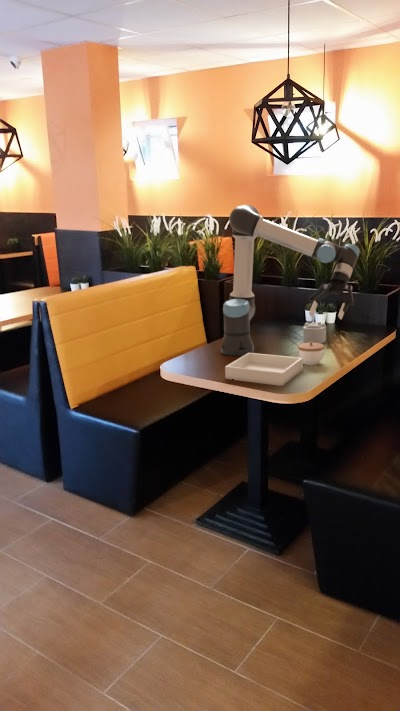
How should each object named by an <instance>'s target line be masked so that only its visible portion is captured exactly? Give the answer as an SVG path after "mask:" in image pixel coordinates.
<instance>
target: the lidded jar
mask: <svg viewBox="0 0 400 711" xmlns="http://www.w3.org/2000/svg"><path fill="white" fill-rule="evenodd" d="M297 349H298V358H303V365H305V364H306V366H317V365H319V363H320V362H321V361H322V360H323V358H324V353H325V345H324V343H322V344H320V343H312V342H310V343H304V342H302V343H299V344H298V345H297Z"/></svg>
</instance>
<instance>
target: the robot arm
mask: <svg viewBox="0 0 400 711" xmlns="http://www.w3.org/2000/svg"><path fill="white" fill-rule="evenodd" d="M228 221H229V225H230V227H231V228H232V230H231V231H232V232H231V236H233V238H234V239H235V241H234V260H233V261H234V262H233V265H234V268H233V287H232V288H233V290H232V292H231V293H229V300H226V301H225V302H224V303H223V305H222V306H223V307H222V314H223V332H224V333H223V340H222V343H221V346H220V353H221V354H222V355H224V356H233V357H239V356H240V357H242V356H244V355H245V354H247V353H255V346H254V343H253V340H252V338H251V337H252V336H251V334H250V333H251V330H250V329H251V328H250V327H251V326H250V322H251V320H252V318H253V317H254V315H255V313H256V304H255V294H254V292H253V291H252V288H253V287H252V286H253V272H254V271H253V268H254V266H253V265H254V252H255V251H254V247H255V239H256V238H257V237H258V238H262V239H265V240H266V241H270V242H272V243H275V244H278V245H279V246H282V247H285V248H288V249H291V250H293V251H295V252H299V253H300V254H303V255H306V256H308V257H310V258H313V259H316V260H318V261H319V262H321V263H324V264H328V263H331V262H333V263H336V264H335V268H334V270H333V273H332V275H331V277H330V281H329V283H325V282H322V283H321V285H320V286H319V287H318V288H317V290H316V291H314V292H313V293H312V294H311V295H310V296H309V297H308V300H309V302H310V305H309V308H310V309H309V312H308V314H309V316H310V318H312V317H314V314H315V313H316V309H317V308H318V303H319V302H320V301H322V300H324V299H325V298H326V297H329V296H331V295H337V296H338V295H340V296H341V298H342V300H343V301H344V302H343V303H342V305H341V307H340V308H339V312H338V314H337V317H338V318H339V320H342V319H343V317H344V315H345V313H347V312H348V309H349V307H350V306H354V305H355V301H354V296H353V289H354V288H353V286H352V284H351V283H349V281H350V278H351V276H352V274H353V271H354V268H355V266H356V264H357V262H358V259H359V255H360V252H361V251H360V248H359V247H358V246H357V245H356V244H353V243H346V244H345V245H342V246H341V245H339V244H336V243H334V242H332V241H329V240H327V239H324V238H321V237H320V238H318V239H317V238H313V237H311V236H308V235H306V234H303V233H301V232H299V231H295V230H293V229H290V228H288V227H285V226H283V225H281V224H278V223H275V222H273V221H270V220H267V219H264V217H263V215H260V213H259V211H258V209H256V207H255V206H253V205H251V204H242V205H239V206H236V207H235V208H234V209H232V211H231V212H230V214H229V220H228ZM344 291H347V293H348V294H347V295H348V299H347V296H346V295H345V293H344Z"/></svg>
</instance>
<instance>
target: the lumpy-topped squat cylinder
mask: <svg viewBox="0 0 400 711" xmlns="http://www.w3.org/2000/svg"><path fill="white" fill-rule="evenodd" d="M326 341H327V326H326V323H322V322H321V321H317V322H316V321H311V323H310V322H305V323H304V325H303V327H302V343H310V342H312V343H320V344H325V342H326Z"/></svg>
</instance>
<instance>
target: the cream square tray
mask: <svg viewBox="0 0 400 711" xmlns="http://www.w3.org/2000/svg"><path fill="white" fill-rule="evenodd" d="M303 370H304V363H303V358H300V357H299V356H297V357H296V356H287V355H286V356H285V355H278V354H277V355H276V354H268V353H267V354H266V353H258V352H257V353H256V352H253V353H247V354H245V355H243V356H240V357H239V358H237V359H236V360H234V361H232V362H230V363H229V364H227V365H225V366H224V371H225V375H224V376H225V379H226V380H232V379H234V380H233V381H241V382H247V383H248V382H249V383H250V382H251V383H254V384H255V383H256V384H264V385H272V386H273V385H274V386H279V387H281V386H282V387H283V386H285V385H286V384H287V383H289V381H291V380H292V379H294V378H295V377H296V376H297V375H298V374H300V373H301V372H302V371H303ZM299 372H300V373H299Z"/></svg>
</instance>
